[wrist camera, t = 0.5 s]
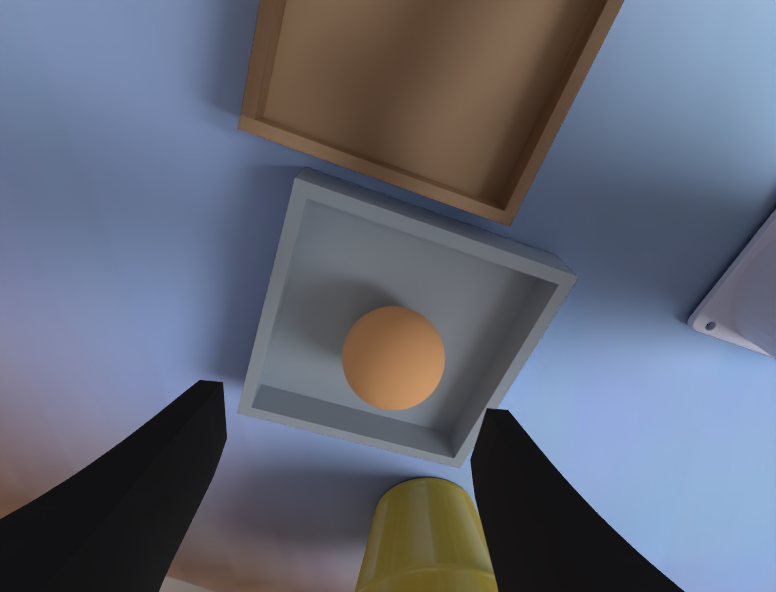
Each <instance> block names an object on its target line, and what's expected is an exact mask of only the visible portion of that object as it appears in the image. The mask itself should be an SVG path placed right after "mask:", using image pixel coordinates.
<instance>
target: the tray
mask: <svg viewBox="0 0 776 592" xmlns="http://www.w3.org/2000/svg"><path fill="white" fill-rule="evenodd" d="M623 2H624V0H260V5H259V11H258V17H257V22H256V28H255V34H254V40H253V45H252V51H251V57H250V63H249V68H248V74H247V80H246V86H245V91H244V97H243V103H242V109H241V114H240V120H239V126H238V129H240V130H242V131H245V132H248V133H251V134H254V135H256V136H259V137H262V138H265V139H267V140H270V141H273V142H276V143H279V144H281V145H284V146H287V147H290V148H292V149H295V150H298V151H301V152H304V153H306V154H309V155H312V156H315V157H317V158H320V159H323V160H326V161H328V162H331V163H334V164H337V165H340V166H342V167H345V168H348V169H351V170H353V171H356V172H359V173H362V174H365V175H367V176H370V177H373V178H376V179H378V180H381V181H384V182H387V183H390V184H392V185H395V186H398V187H401V188H403V189H406V190H409V191H412V192H414V193H417V194H420V195H423V196H426V197H428V198H431V199H434V200H437V201H439V202H442V203H445V204H448V205H451V206H453V207H456V208H459V209H462V210H464V211H467V212H470V213H473V214H476V215H478V216H481V217H484V218H487V219H489V220H492V221H495V222H498V223H501V224H503V225H506V226H509V227H510V225H511V223H512V221H513V219H514V217H515V215H516V213H517V211H518V209H519V207H520V205H521V203H522V201H523V199H524V198H525V196H526V194H527V192H528V190H529V188H530V186H531V184H532V182H533V180H534V178H535V176H536V174H537V172H538V170H539V168H540V166H541V164H542V162H543V160H544V158H545V156H546V154H547V152H548V150H549V148H550V146H551V144H552V142H553V140H554V138H555V136H556V134H557V132H558V130H559V128H560V126H561V124H562V122H563V120H564V119H565V117H566V115H567V113H568V111H569V109H570V107H571V105H572V103H573V101H574V99H575V97H576V95H577V93H578V91H579V89H580V87H581V85H582V83H583V81H584V79H585V77H586V75H587V73H588V71H589V69H590V67H591V65H592V63H593V61H594V59H595V57H596V55H597V53H598V51H599V49H600V47H601V45H602V43H603V42H604V40H605V38H606V36H607V34H608V32H609V30H610V28H611V26H612V24H613V22H614V20H615V18H616V16H617V14H618V12H619V10H620V8H621V6H622V4H623Z"/></svg>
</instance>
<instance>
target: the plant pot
mask: <svg viewBox="0 0 776 592" xmlns="http://www.w3.org/2000/svg"><path fill="white" fill-rule="evenodd" d="M355 592H498V588H497V583H496V579H495V575H494V571H493V567H492V564H491V560H490V556H489V552H488V548H487V544H486V540H485V536H484V532H483V528H482V524H481V520H480V517H479V515H478V513H477V510H476V508H475V506H474V504H473V502H472V500H471V498H470V496H469V495H468V494H467V492H466V491H465V490H464V489H462V488H461V487H460V486H458V485H456V484H454V483H452V482H450V481H447V480H443V479H439V478H416V479H412V480H408V481H405V482H402V483H400V484H398V485H396V486H394V487H393V488H391V489H390V490H388V491H387V492H386V493H385V494H384V495H383V496H382V498H381V499H380V501H379V502H378V504H377V507H376V510H375V514H374V518H373V522H372V526H371V530H370V534H369V538H368V542H367V546H366V550H365V554H364V557H363V561H362V565H361V569H360V573H359V577H358V581H357V585H356V589H355Z"/></svg>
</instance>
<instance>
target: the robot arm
mask: <svg viewBox="0 0 776 592" xmlns="http://www.w3.org/2000/svg"><path fill="white" fill-rule="evenodd" d="M709 322H710V323H709ZM708 323H709V324H708ZM707 324H708V325H707ZM688 325H689V327H691V328H692V329H693V330H695V331H698V332H700V333H703V334H706V335H709V336H712V337H715V338H718V339H721V340H724V341H727V342H730V343H733V344H735V345H738V346H741V347H744V348H747V349H750V350H753V351H756V352H759V353H762V354H765V355H768V356H770V357H773V358H775V359H776V209H775V210H774V212H773V213H772V214H771V215H770V217H769V218H768V219H767V220H766V222H765V223H764V224H763V225H762V227H761V228H760V229H759V230H758V232H757V233H756V234H755V235H754V237H753V238H752V239H751V241H750V242H749V243H748V244H747V246H746V247H745V248H744V249H743V251H742V252H741V253H740V254H739V256H738V257H737V258H736V259H735V261H734V262H733V263H732V264H731V266H730V267H729V268H728V269H727V271H726V272H725V273H724V274H723V276H722V277H721V278H720V279H719V281H718V282H717V283H716V284H715V286H714V287H713V288H712V290H711V291H710V292H709V293H708V295H707V296H706V297H705V298H704V300H703V301H702V302H701V303H700V305H699V306H698V307H697V308H696V310H695V311H694V312H693V313H692V315H691V316H690V317H689V319H688ZM706 325H707V326H706ZM226 440H227V432H226V417H225V403H224V389H223V382H215V381H205V380H199V381H198V382H197V383H195V384H194V385H193V386H191V387H190V388H189V389H188V390H186V391H185V392H184V393H183V394H181V395H180V396H179V397H178V398H177V399H175V400H174V401H173V402H172V403H170V404H169V405H168V406H167V407H165V408H164V409H163V410H162V411H160V412H159V413H158V414H157V415H156V416H154V417H153V418H152V419H150V420H149V421H148V422H147V423H145V424H144V425H143V426H141V427H140V428H139V429H138V430H136V431H135V432H134V433H132V434H131V435H130V436H128V437H127V438H126V439H124V440H123V441H122V442H120V443H119V444H118V445H116V446H115V447H113V448H112V449H111V450H109V451H108V452H106V453H105V454H104V455H102V456H101V457H99V458H98V459H97V460H95V461H94V462H92V463H91V464H90V465H88V466H87V467H85V468H84V469H82V470H81V471H79V472H78V473H76V474H75V475H73V476H72V477H70V478H69V479H67V480H66V481H64V482H63V483H61V484H59V485H58V486H56V487H54V488H53V489H51V490H50V491H48V492H46V493H45V494H43V495H42V496H40V497H38V498H37V499H35V500H33V501H32V502H30V503H28V504H27V505H25V506H23V507H21V508H19V509H18V510H16V511H14V512H12V513H10V514H9V515H7V516H5V517H3V518H2V519H0V592H159V590H160V588H161V585H162V582H163V580H164V578H165V576H166V574H167V571H168V569H169V567H170V565H171V562H172V560H173V558H174V556H175V554H176V552H177V550H178V548H179V546H180V544H181V542H182V540H183V538H184V536H185V534H186V532H187V530H188V528H189V526H190V524H191V522H192V520H193V518H194V516H195V514H196V511H197V509H198V507H199V505H200V503H201V501H202V499H203V497H204V495H205V493H206V491H207V489H208V487H209V485H210V483H211V480H212V478H213V476H214V474H215V471H216V468H217V466H218V463H219V460H220V457H221V454H222V451H223V448H224V445H225V443H226ZM470 461H471V470H472V478H473V486H474V493H475V499H476V503H477V507H478V511H479V516H480V520H481V524H482V528H483V532H484V536H485V540H486V544H487V548H488V552H489V556H490V560H491V564H492V567H493V571H494V575H495V579H496V583H497V588H498V592H684V591H683V590H682V589H681V588H679V587H678V586H677V585H676V584H675V583H674V582H672V581H671V580H670V579H669V578H668V577H666V576H665V575H664V574H663V573H662V572H661V571H659V570H658V569H657V568H656V567H655V566H653V565H652V564H651V563H650V562H649V561H648V560H647V559H645V558H644V557H643V556H642V555H641V554H640V553H639V552H637V551H636V550H635V549H634V548H633V547H632V546H631V545H630V544H629V543H628V542H627V541H626V540H625V539H624V538H623V537H621V536H620V535H619V534H618V533H617V532H616V531H615V530H614V529H613V528H612V527H611V526H610V525H609V524H608V523H607V522H606V521H605V520H604V519H603V518H602V517H601V516H600V515H599V514H598V513H597V512H596V511H595V510H594V509H593V508H592V507H591V506H590V505H589V504H588V503H587V502H586V501H585V500H584V499H583V498H582V496H581V495H580V494H579V493H578V492H577V491H576V490H575V489H574V488H573V487H572V486H571V485H570V483H569V482H568V481H567V480H566V479H565V478H564V477H563V476H562V474H561V473H560V472H559V471H558V470H557V469H556V468H555V466H554V465H553V464H552V463H551V462H550V461H549V459H548V458H547V457H546V456H545V455H544V453H543V452H542V451H541V450H540V449H539V447H538V446H537V445H536V444H535V442H534V441H533V440H532V439H531V438H530V436H529V435H528V434H527V433H526V431H525V430H524V429H523V428H522V426H521V425H520V424H519V423H518V421H517V420H516V419H515V418H514V417H513V415H512V414H511V413H510V412H509V411H508V410H502V409H492V408H487V409H486V412H485V415H484V418H483V421H482V424H481V428H480V431H479V434H478V437H477V440H476V444H475V447H474V450H473V453H472V456H471V460H470Z"/></svg>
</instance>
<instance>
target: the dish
mask: <svg viewBox="0 0 776 592" xmlns="http://www.w3.org/2000/svg"><path fill="white" fill-rule="evenodd" d="M578 278H579V276H578V275H577V274H575V273H574V272H573V271H572V270H571V269H570V268H569V267H568V266H567V265H566V264H565V263H564V262H563V261H562V260H561V259H560V258H559V257H558V256H556V255H553V254H550V253H547V252H544V251H541V250H539V249H536V248H533V247H530V246H527V245H525V244H522V243H519V242H516V241H513V240H511V239H508V238H505V237H502V236H499V235H496V234H494V233H491V232H488V231H485V230H482V229H480V228H477V227H474V226H471V225H468V224H465V223H463V222H460V221H457V220H454V219H451V218H449V217H446V216H443V215H440V214H437V213H434V212H432V211H429V210H426V209H423V208H420V207H418V206H415V205H412V204H409V203H406V202H403V201H401V200H398V199H395V198H392V197H389V196H387V195H384V194H381V193H378V192H375V191H372V190H370V189H367V188H364V187H361V186H358V185H356V184H353V183H350V182H347V181H344V180H341V179H339V178H336V177H333V176H330V175H327V174H325V173H322V172H319V171H316V170H313V169H310V168H308V167H305V168H304V169H303V170H302V171H301V172H300V173H299V174H298V175H297V176H296V177H295V179H294V183H293V187H292V191H291V195H290V199H289V203H288V207H287V211H286V216H285V220H284V224H283V228H282V232H281V236H280V240H279V244H278V248H277V252H276V256H275V260H274V264H273V269H272V273H271V277H270V281H269V285H268V289H267V293H266V297H265V301H264V305H263V309H262V313H261V317H260V322H259V326H258V330H257V334H256V338H255V342H254V346H253V350H252V354H251V358H250V362H249V366H248V371H247V375H246V379H245V383H244V387H243V391H242V395H241V399H240V403H239V407H238V411H237V413H238V414H242V415H246V416H251V417H255V418H259V419H263V420H267V421H271V422H275V423H279V424H283V425H287V426H291V427H295V428H299V429H303V430H307V431H311V432H315V433H319V434H323V435H327V436H331V437H335V438H339V439H343V440H347V441H351V442H355V443H359V444H363V445H367V446H371V447H375V448H379V449H384V450H388V451H392V452H396V453H400V454H404V455H408V456H412V457H416V458H420V459H424V460H428V461H432V462H436V463H440V464H444V465H448V466H452V467H456V468H460V467H461V466H462V464H463V462H464V461H465V459H466V458H467V456H468V454H469V453H470V451H471V450H472V448H473V446H474V445H475V443H476V440H477V437H478V434H479V431H480V428H481V424H482V421H483V418H484V415H485V412H486V409H487V408H492V409H497V408H498V406H499V405H500V403H501V401H502V400H503V398H504V397H505V395H506V393H507V392H508V390H509V389H510V387H511V385H512V384H513V382H514V380H515V379H516V377H517V376H518V374H519V372H520V371H521V369H522V368H523V366H524V364H525V363H526V361H527V360H528V358H529V356H530V355H531V353H532V352H533V350H534V348H535V347H536V345H537V344H538V342H539V340H540V339H541V337H542V335H543V334H544V332H545V331H546V329H547V327H548V326H549V324H550V323H551V321H552V319H553V318H554V316H555V315H556V313H557V311H558V310H559V308H560V307H561V305H562V303H563V302H564V300H565V299H566V297H567V295H568V294H569V292H570V290H571V289H572V287H573V286H574V284H575V282H576V281H577V279H578ZM388 306H399V307H405V308H408V309H411V310H414V311H416V312H418V313H420V314H421V315H423V316H424V317H425V318H427V319H428V320H429V321H430V322H431V323H432V324H433V326H434V327H435V328H436V330H437V331H438V333H439V335H440V337H441V340H442V343H443V346H444V352H445V365H444V371H443V374H442V377H441V380H440V382H439V384H438V385H437V387H436V388H435V390H434V391H433V392H432V394H431V395H430V396H428V397H427V398H426V399H425V400H424V401H422V402H421V403H419V404H417V405H415V406H413V407H410V408H407V409H403V410H384V409H380V408H377V407H374V406H372V405H370V404H368V403H366V402H365V401H363V400H362V399H361V398H360V397H358V396H357V395H356V394H355V392H354V391H353V390H352V388H351V387H350V385H349V384H348V382H347V380H346V377H345V374H344V371H343V366H342V350H343V346H344V342H345V339H346V337H347V335H348V333H349V331H350V330H351V328H352V326H353V325H354V324H355V323H356V322H357V321H358V320H359V319H360V318H361V317H362V316H364V315H365V314H367V313H369V312H371V311H373V310H375V309H378V308H382V307H388Z"/></svg>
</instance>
